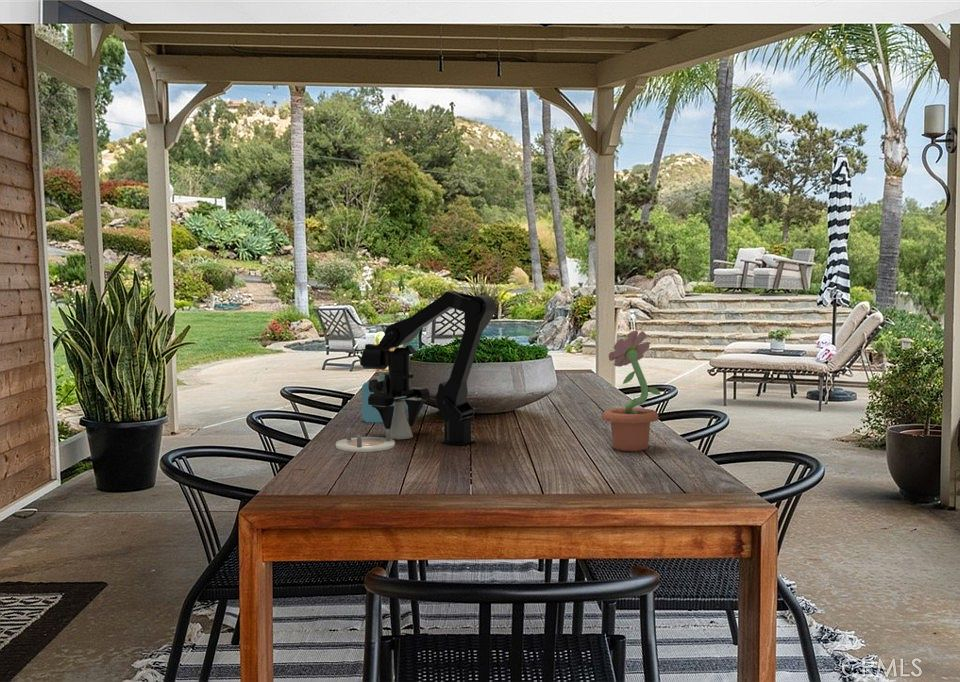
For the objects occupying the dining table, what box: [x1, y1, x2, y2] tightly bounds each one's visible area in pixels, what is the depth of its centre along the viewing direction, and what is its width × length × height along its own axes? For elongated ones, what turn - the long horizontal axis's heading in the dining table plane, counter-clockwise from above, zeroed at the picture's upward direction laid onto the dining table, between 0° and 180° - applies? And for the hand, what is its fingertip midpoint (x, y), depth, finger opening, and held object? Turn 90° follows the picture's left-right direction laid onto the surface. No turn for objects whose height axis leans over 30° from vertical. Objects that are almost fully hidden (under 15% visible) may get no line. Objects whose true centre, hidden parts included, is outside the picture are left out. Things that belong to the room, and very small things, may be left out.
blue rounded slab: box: [361, 380, 405, 424], centre depth 270 cm, size 12×4×12 cm, turn 79°
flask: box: [390, 400, 414, 440], centre depth 245 cm, size 7×7×10 cm
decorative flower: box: [602, 330, 661, 452], centre depth 228 cm, size 15×14×30 cm
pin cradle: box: [335, 427, 396, 453], centre depth 233 cm, size 15×15×4 cm
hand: (399, 428), depth 245 cm, fingers open, 9 cm apart
